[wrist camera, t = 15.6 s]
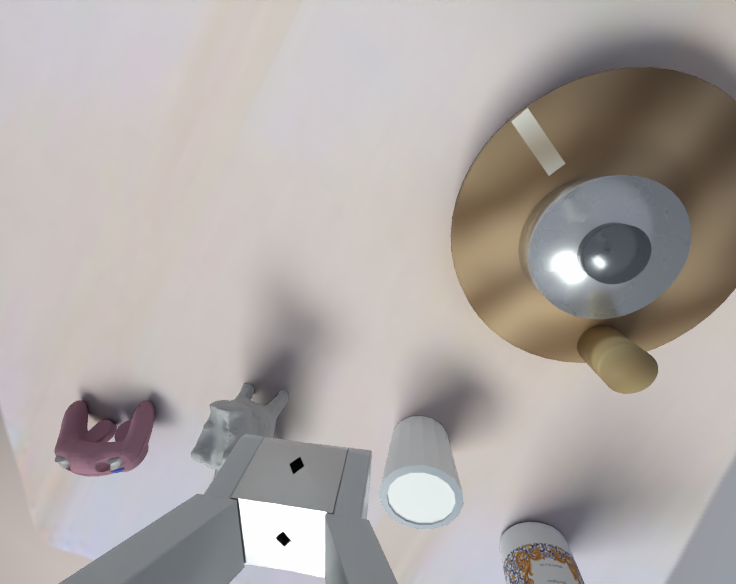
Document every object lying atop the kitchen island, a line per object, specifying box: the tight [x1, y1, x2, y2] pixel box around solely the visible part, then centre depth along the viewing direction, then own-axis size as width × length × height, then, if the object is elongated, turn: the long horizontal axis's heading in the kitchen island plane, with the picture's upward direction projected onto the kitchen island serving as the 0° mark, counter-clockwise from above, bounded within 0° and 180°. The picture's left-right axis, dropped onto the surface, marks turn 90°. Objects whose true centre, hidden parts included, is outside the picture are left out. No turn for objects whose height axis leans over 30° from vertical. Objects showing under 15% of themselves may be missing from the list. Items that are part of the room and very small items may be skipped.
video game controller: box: [55, 401, 154, 476], centre depth 37 cm, size 10×5×7 cm, turn 95°
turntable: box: [451, 67, 736, 394], centre depth 23 cm, size 20×20×6 cm
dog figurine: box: [191, 383, 289, 478], centre depth 31 cm, size 5×13×11 cm, turn 172°
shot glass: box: [379, 416, 463, 529], centre depth 32 cm, size 7×7×7 cm
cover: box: [518, 175, 692, 319], centre depth 23 cm, size 9×9×4 cm
